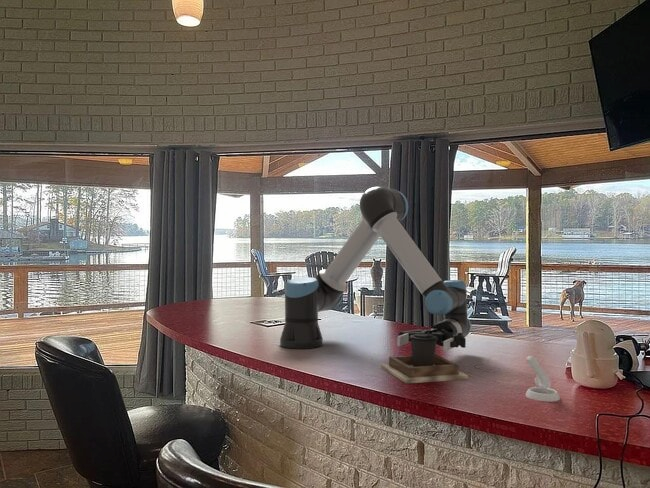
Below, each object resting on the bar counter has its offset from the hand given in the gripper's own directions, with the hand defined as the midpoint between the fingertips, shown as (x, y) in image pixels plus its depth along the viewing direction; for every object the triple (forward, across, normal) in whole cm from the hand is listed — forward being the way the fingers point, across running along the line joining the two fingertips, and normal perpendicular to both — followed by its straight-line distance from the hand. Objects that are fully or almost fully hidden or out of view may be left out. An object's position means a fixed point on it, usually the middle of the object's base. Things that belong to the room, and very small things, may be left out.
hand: (421, 343), depth 151 cm
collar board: (-2, 0, -8) cm, 9 cm away
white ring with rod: (+5, -33, -9) cm, 34 cm away
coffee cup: (-2, 0, -8) cm, 8 cm away
